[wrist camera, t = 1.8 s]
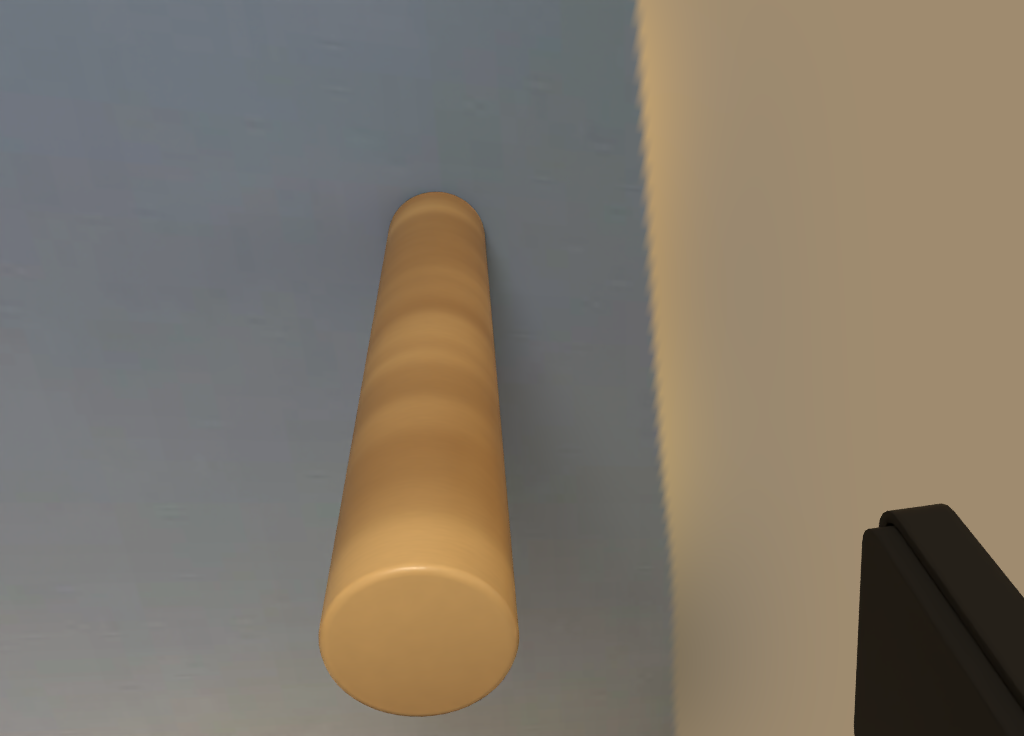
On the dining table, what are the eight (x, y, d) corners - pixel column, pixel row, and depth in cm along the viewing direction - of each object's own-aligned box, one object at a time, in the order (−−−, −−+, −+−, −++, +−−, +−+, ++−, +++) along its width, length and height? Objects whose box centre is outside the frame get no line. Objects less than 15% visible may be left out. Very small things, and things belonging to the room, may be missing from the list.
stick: (380, 197, 20) (296, 583, 9) (477, 184, 20) (505, 555, 9) (397, 287, 21) (341, 731, 10) (490, 274, 21) (530, 706, 10)
